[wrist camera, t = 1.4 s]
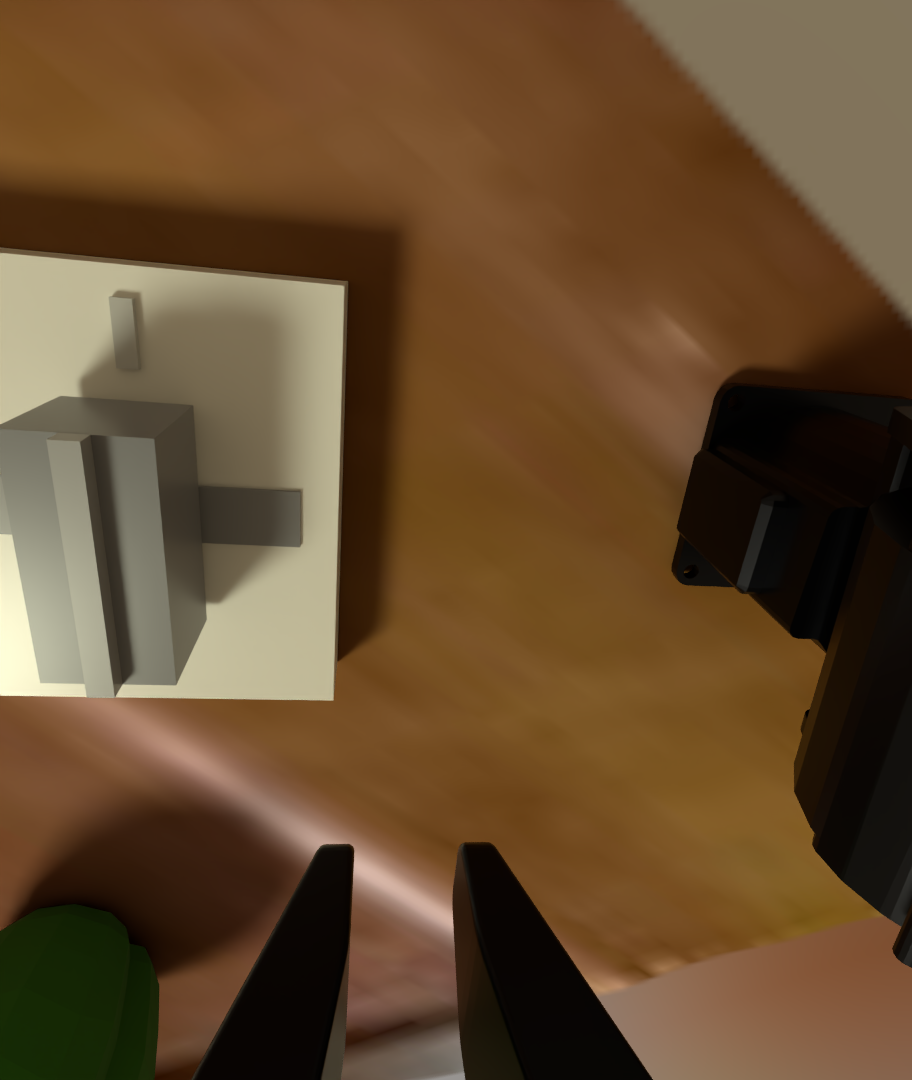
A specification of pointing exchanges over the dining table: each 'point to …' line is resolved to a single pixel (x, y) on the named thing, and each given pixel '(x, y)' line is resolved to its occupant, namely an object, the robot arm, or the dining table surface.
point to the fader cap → (107, 539)
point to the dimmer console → (202, 447)
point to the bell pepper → (76, 999)
